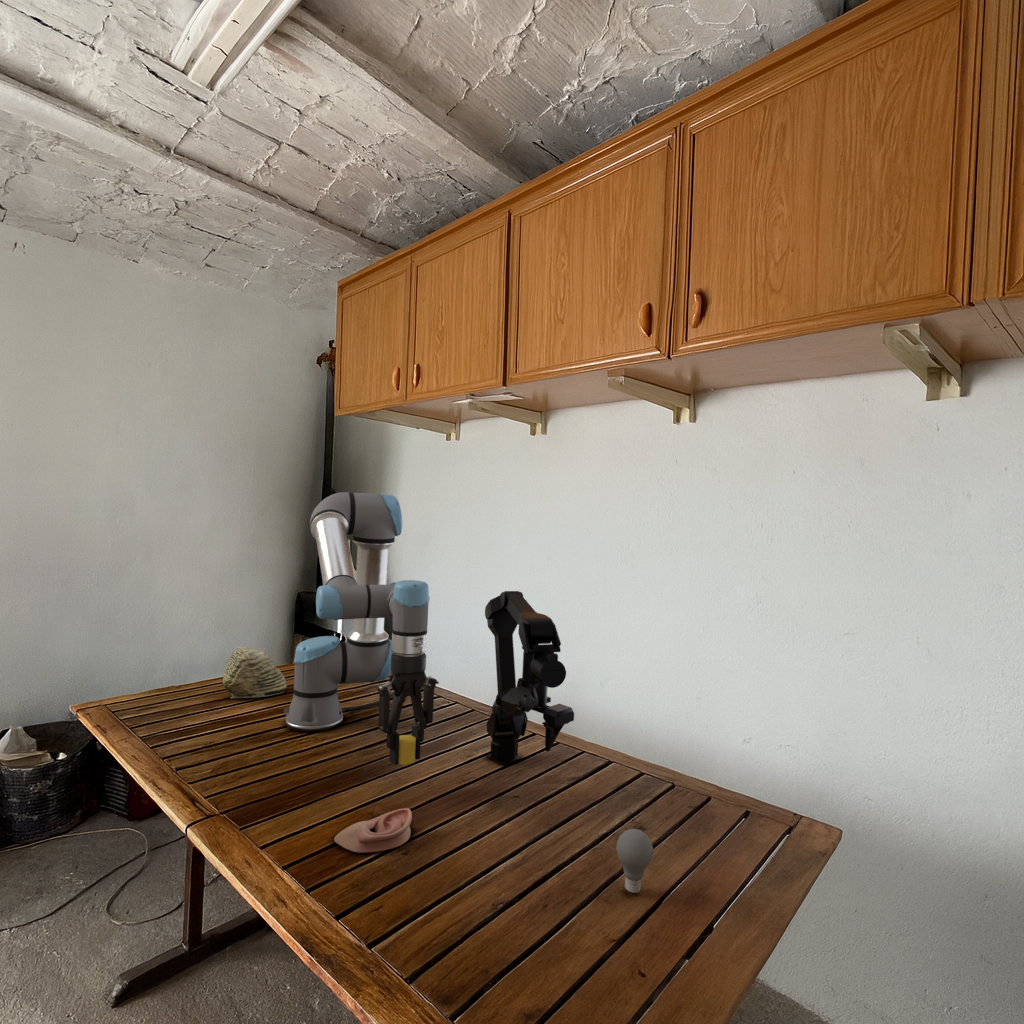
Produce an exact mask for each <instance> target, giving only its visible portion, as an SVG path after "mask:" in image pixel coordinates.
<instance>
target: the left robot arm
mask: <svg viewBox="0 0 1024 1024" xmlns="http://www.w3.org/2000/svg"><path fill="white" fill-rule="evenodd" d="M309 529H310V533H311V536H312V537H313V538H314V540H315V541H316V547H317V554H318V559H319V560H318V561H319V566H320V573H321V578H322V579H321V580H322V585H319V586H318V587H317V589H316V595H315V608H316V609H315V610H316V611H315V612H316V616H317V617H318V619H320V620H333V621H340V620H353V623H352V624H353V625H352V630H350V631H349V632H348V633H347V635H346V637H347V638H346V641H341V640H340V638H339V637H338V636H335V635H324V636H323V635H322V636H316V637H311V638H308V639H305V640H303V641H301V642H299V643H298V644H297V645H296V648H295V655H294V660H293V663H294V674H293V675H294V680H293V695H292V696H293V697H292V699H291V702H290V704H289V706H288V707H285V708H283V714H284V715H285V714H286V715H285V726H286V728H287V729H289V730H291V731H294V732H295V731H296V732H301V733H316V732H325V731H329V730H332V729H335V728H337V727H339V726H340V725H342V723H343V722H344V714H343V711H344V712H345V711H353V710H359V709H366V708H370V707H374V706H377V705H378V730H380V731H381V732H382V733H384V734H386V748H388V749H389V755H388V760H389V762H390V763H392V764H393V765H394V766H396V765H397V766H398V765H399V764H398V759H399V736H400V733H399V732H397V730H398V726H399V722H400V720H401V719H400V718H401V715H402V714H401V713H402V710H403V707H404V704H405V702H406V699H407V698H408V697H410V701H411V707H412V712H413V718H414V724H415V725H412V726H411V736H414V737H415V738H416V749H415V760H420V759H421V749H422V748H421V743H422V742H424V740H425V730H426V729H427V728H428V725H430V724H432V723H433V721H434V700H435V688H436V686H437V685H439V684H440V682H439V681H438V680H437V679H436V678H434V677H432V676H427V674H426V669H427V654H426V652H427V643H428V626H429V625H428V624H429V623H428V622H429V602H430V589H429V584H428V583H427V582H425V581H422V580H415V579H406V580H398V581H394V582H389V583H387V582H388V565H389V550H390V547H392V546H393V545H394V544H395V539H396V537H399V536H401V534H402V530H403V516H402V509H401V505H400V502H399V500H398V498H397V497H396V496H395V495H392V494H387V493H380V492H379V493H376V492H375V493H374V492H372V493H371V492H346V491H342V492H341V491H340V492H336V493H333V494H330V495H329V496H326V497H325V498H324V499H322V500H321V501H320V502H319V503H318V504H317V505H316V506H315V507H314V509H313V511H312V512H311V515H310V520H309ZM348 536H352V542H353V543H354V544H355V546H356V547H357V553H356V569H355V567H354V563H353V557H352V554H351V553H352V552H351V548H350V545H349V540H348ZM355 570H356V571H355ZM389 618H392V631H391V639H390V638H389V636H390V635H389V634H388V632H386V630H385V619H389ZM389 676H390V677H389ZM388 677H389V679H388V682H386V683H384V684H381V683H380V684H378V685H377V687H376V689H377V693H378V697H379V698H378V699H379V700H378V701H374V702H371V703H367V704H361V705H354V706H344V707H342V706H341V702H340V699H339V695H338V685H345V684H358V683H359V684H360V683H374V682H380V681H385V680H386V679H387V678H388ZM422 688H423V695H422V690H421V689H422ZM391 690H392V691H393V692H392V691H391ZM391 697H392V703H391Z"/></svg>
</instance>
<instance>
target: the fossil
mask: <svg viewBox="0 0 1024 1024" xmlns="http://www.w3.org/2000/svg"><path fill="white" fill-rule="evenodd" d="M222 676H223V677H222V685H223V687H224V688H225V690H226V691H228V693H229V698H230V699H250V698H264V697H271V696H275V695H281V694H284V693H285V691H286V689H287V687H288V686H287V680H286V678H285V676H284V674H283V673H282V672H281V669H279V668H278V667H277V665H276V663H275V662H274V660H273V659H272V658H271V657H270V656H269V655H268V654H267V653H266V652H265V650H264V649H263V648H260V647H258V648H251V647H247V646H246V647H245V646H238V647H237V648H236V649H235V650H233V651H232V653H231V656H230V657H229V659H228V660H227V663H226V666H225V668H224V671H223V675H222Z"/></svg>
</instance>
